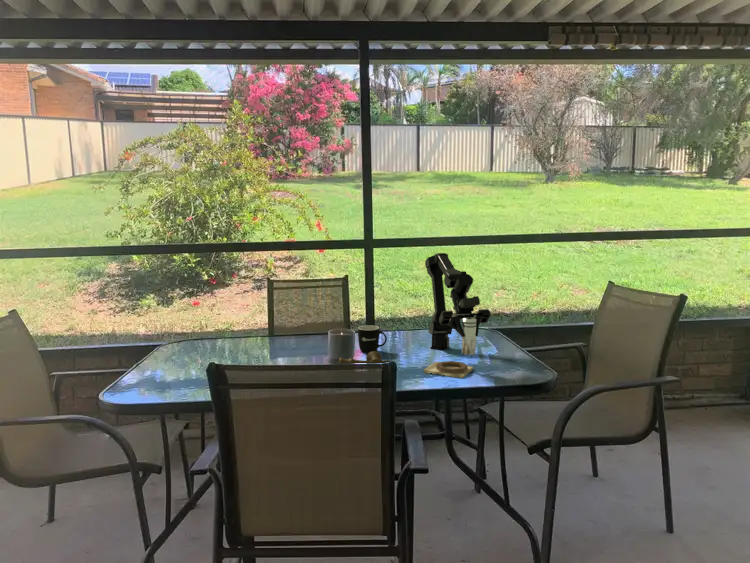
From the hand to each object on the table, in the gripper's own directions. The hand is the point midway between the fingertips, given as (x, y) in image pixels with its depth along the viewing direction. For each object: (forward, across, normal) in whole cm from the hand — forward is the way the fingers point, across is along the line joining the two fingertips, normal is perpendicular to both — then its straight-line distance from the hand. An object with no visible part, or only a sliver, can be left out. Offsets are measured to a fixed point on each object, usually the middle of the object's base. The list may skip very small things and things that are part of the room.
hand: (470, 336), depth 218 cm
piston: (+4, 0, +6) cm, 7 cm away
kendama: (+2, -37, +18) cm, 41 cm away
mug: (-15, -29, +35) cm, 48 cm away
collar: (+8, -7, +12) cm, 15 cm away
